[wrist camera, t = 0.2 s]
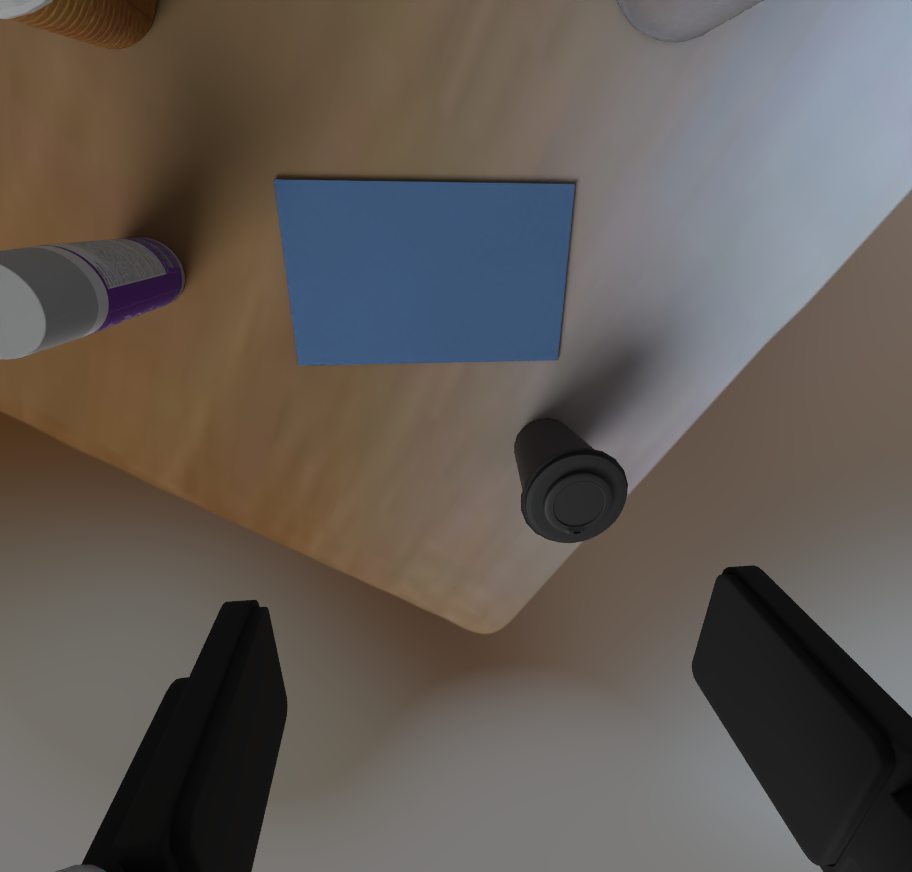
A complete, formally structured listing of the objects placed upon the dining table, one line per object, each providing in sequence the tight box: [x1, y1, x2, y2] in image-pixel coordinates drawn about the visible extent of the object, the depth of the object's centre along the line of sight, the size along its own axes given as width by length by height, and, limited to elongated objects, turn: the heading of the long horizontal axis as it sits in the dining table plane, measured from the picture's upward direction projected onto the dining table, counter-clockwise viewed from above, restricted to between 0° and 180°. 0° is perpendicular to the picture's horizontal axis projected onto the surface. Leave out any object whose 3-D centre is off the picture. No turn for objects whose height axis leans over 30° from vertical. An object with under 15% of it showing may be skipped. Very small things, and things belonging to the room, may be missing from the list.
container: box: [0, 237, 185, 359], centre depth 28 cm, size 5×5×15 cm
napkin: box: [274, 179, 575, 365], centre depth 37 cm, size 13×21×1 cm, turn 90°
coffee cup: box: [514, 418, 628, 543], centre depth 39 cm, size 8×8×10 cm
